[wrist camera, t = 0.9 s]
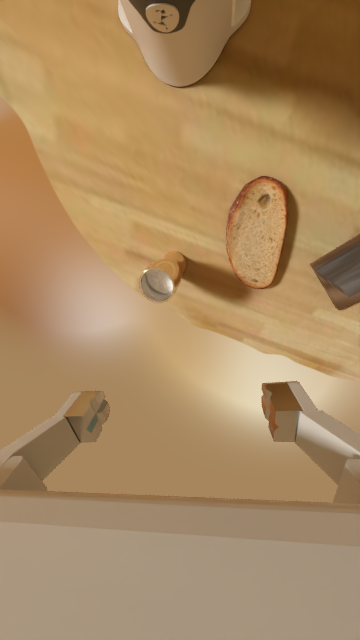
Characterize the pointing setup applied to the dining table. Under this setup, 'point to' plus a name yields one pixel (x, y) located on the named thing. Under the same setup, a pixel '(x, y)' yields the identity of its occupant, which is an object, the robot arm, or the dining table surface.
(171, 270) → the beer glass
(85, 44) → the dining table surface
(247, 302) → the dining table surface
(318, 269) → the stand
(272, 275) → the bread slice
